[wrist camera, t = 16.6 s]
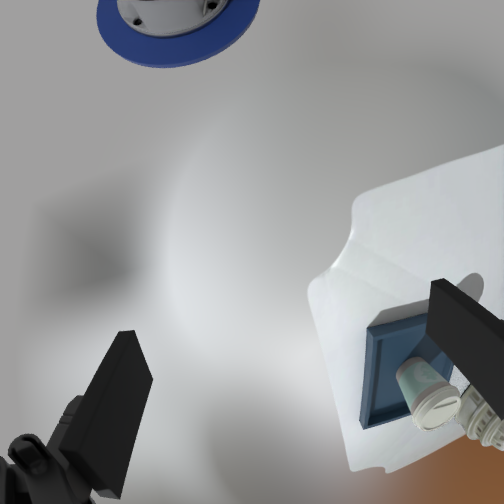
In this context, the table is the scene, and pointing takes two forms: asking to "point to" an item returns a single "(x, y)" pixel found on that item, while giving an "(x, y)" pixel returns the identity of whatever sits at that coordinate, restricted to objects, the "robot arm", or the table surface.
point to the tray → (395, 367)
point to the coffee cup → (427, 394)
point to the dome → (480, 420)
